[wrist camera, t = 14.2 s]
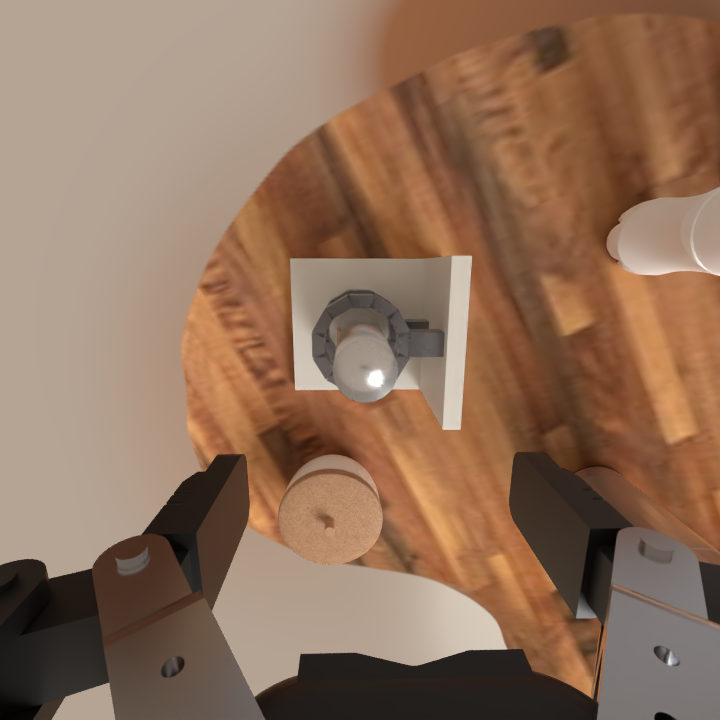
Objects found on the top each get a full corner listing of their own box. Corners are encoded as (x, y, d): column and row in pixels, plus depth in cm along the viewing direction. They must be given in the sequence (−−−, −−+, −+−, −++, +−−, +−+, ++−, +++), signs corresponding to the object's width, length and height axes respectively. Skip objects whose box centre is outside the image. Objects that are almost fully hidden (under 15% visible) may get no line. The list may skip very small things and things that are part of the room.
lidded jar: (333, 421, 45) (328, 461, 36) (396, 480, 47) (406, 531, 38) (271, 480, 47) (251, 532, 38) (334, 534, 49) (330, 596, 40)
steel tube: (378, 307, 41) (398, 339, 23) (377, 345, 42) (397, 402, 24) (339, 308, 41) (330, 339, 23) (339, 345, 42) (331, 402, 24)
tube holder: (437, 385, 45) (469, 429, 32) (297, 385, 44) (276, 431, 32) (443, 258, 41) (481, 255, 29) (292, 258, 41) (267, 255, 29)
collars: (425, 366, 41) (444, 391, 33) (320, 366, 41) (313, 392, 32) (428, 289, 39) (449, 295, 31) (319, 289, 39) (310, 295, 31)
